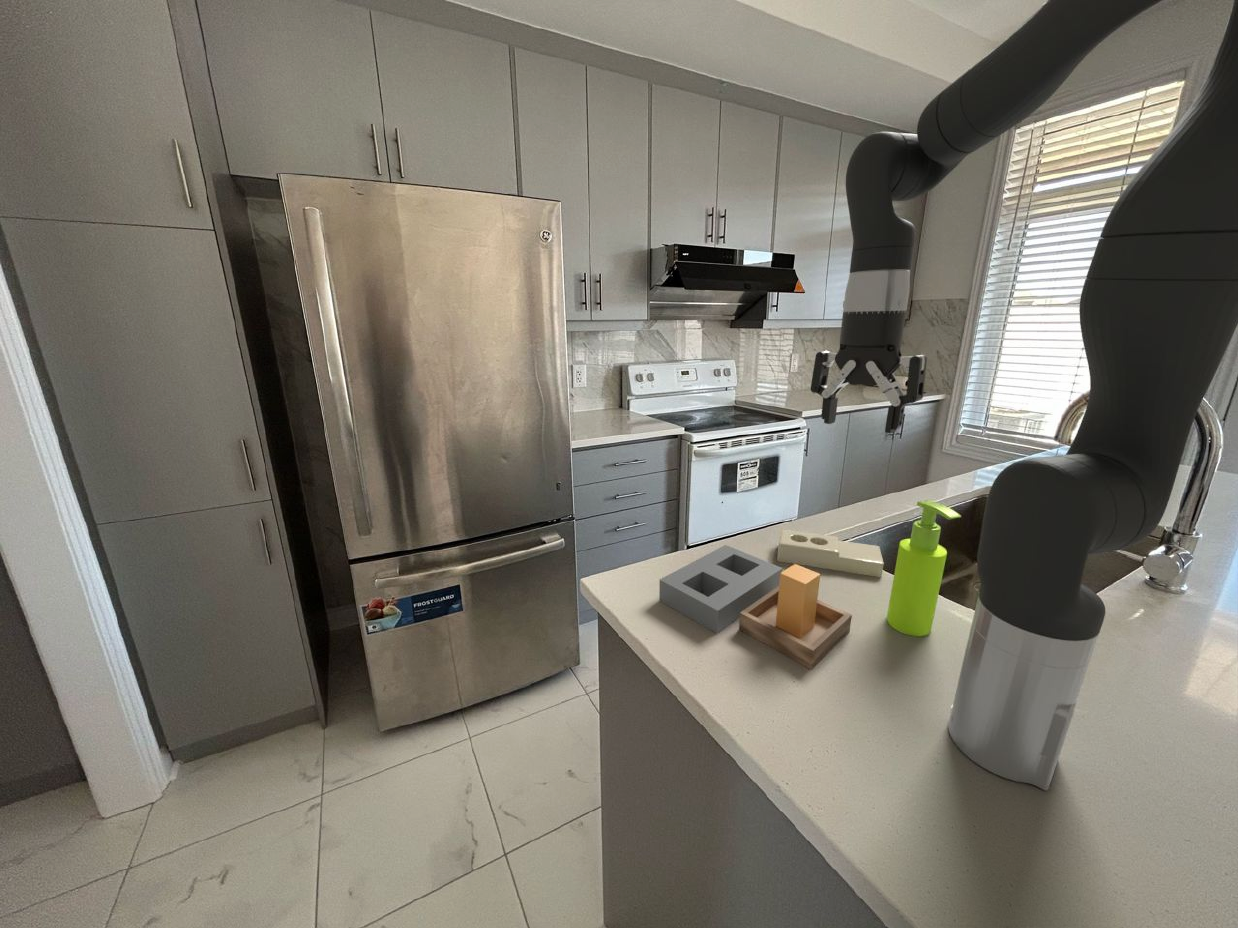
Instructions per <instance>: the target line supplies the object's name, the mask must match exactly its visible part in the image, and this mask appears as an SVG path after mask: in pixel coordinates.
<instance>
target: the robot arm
mask: <svg viewBox="0 0 1238 928" xmlns="http://www.w3.org/2000/svg"><path fill="white" fill-rule="evenodd" d="M1162 1H1163V0H1047V1H1046V2H1045V3H1043V5H1042V6H1041V7H1040V8H1039V9H1038V10H1037V11H1035V13H1033V14H1032V15H1031V16H1030V17H1029V18H1028V19H1027V20H1025V21H1024V23H1022V24H1021V26H1020V27H1018V28H1017V29H1016V30H1015V31H1014V32H1013V33H1011V34H1010V35H1009V36H1007V38H1006V39H1004V41H1002V42H1001V43H1000V44H999V45H997V46H996V47H995V48H994V49H993V50H991V51H990V52H988V54H986V55H985V56H984V57H983V58H982V59H980V60H979V61H978V62H977V63H975V64H973V66H972V67H970V68H969V69H968V70H966V71H965V72H964V73H963V74H961V76H959V77H958V78H956V79H955V80H954V81H953V82H951V83H950V84H949V85H948V86H946V87H945V88H944V89H943V90H941V92H939V93H938V94H937V95H935V96H934V98H933V99H932V100H931V101H930V102H929V103H928V104H927V105H926V106H925V107H924V109H923V111H922V112H921V114H920V116H919V119H918V121H917V128H916V133H905V132H892V131H877V132H873V133H871V134H868V135H867V136H866V137H864V138H863V139H862V140H861V141H860V142H859V143H858V144H857V146H856V147H855V148H854V150H853V153H852V154H851V155H850V159H849V161H848V164H847V168H846V173H845V191H846V192H845V193H846V201H847V206H848V213H849V222H850V228H851V232H852V239H853V242H852V249H851V258H850V266H849V267H850V268H849V275H848V280H847V284H846V288H845V292H844V300H843V303H842V308H843V310H842V318H841V326H840V336H839V349H838V351H837V352H832V351H830V350H823V351H818V352H817V353H816V354H815V359H814V364H813V365H814V366H813V370H812V378H811V383H810V391H811V392H812V393H813V394H818V395H820V396H821V397H822V406H821V413H820V414H821V419H822V420H823V422H824V423H823V424H826V425H832V424H834V423H835V422H836V418H837V409H838V400H839V397H836V396H837V395H838V394H839V393H840V392H841V390H842V389H844V388H846V386H848V384H849V385H850V386H851V385H853V386H857V385H863V386H866V387H876V386H877V387H878V388H879V390H880V391H881V393H883V394H884V395H885V396H886V398H887V400H888V401H889V403H890V405H888V408H887V415H886V422H885V429H884V432H885V434H886V433H887V434H893V433H895V432H896V431H897V430H898V429H900V428H901V427H902V425H903V420H904V414H905V409H906V406H907V405H908V404H914V403H917V402H919V401H921V400H923V398H924V390H925V380H926V371H927V363H928V362H927V360H928V358H927V356H926V355H925V354H919V355H914V356H903V355H902V351H901V347H902V341H903V335H904V328H905V323H906V317H907V315H906V314H907V310H908V302H909V298H910V297H909V296H910V286H911V283H910V282H911V281H910V279H911V277H910V276H911V268H912V267H911V266H912V261H913V256H914V248H915V241H916V227H915V225H914V224H913V223H912V222H911V221H909V220H906V219H904V218H901V217H900V216H899V215H897V214H896V213H895V209H894V204H893V201H894V202H905V201H911V200H913V199H916V198H919V197H921V196H923V195H926V194H927V193H928V192H930V191H932V190H933V189H934V188H935V187H936V186H938V185H939V184H940V183H941V182H942V181H943V180H944V179H945V178H946V177H947V176H948V175H949V174H950V173H952V172H953V171H954V169H956V167H958V165H960V164H961V163H962V162H963V160H964V159H965V158H966V157H967V156H969V155H970V154H972V153H974V152H975V151H977V150H979V149H980V148H982V147H984V146H985V145H987V144H988V143H990V142H992V141H993V140H995V139H996V138H998V137H1000V136H1001V135H1003V134H1004V133H1006V132H1008V131H1009V130H1010V129H1012V128H1014V127H1015V126H1017V125H1019V124H1020V123H1021V122H1022V121H1024V120H1026V119H1027V118H1028V117H1030V116H1031V115H1032V114H1033V113H1035V112H1036V111H1037V110H1038V109H1039V108H1040V107H1042V106H1043V104H1045V103H1046V102H1047V101H1048V100H1049V99H1051V97H1052V96H1053V95H1054V94H1055V92H1056V91H1057V90H1058V89H1059V88H1060V87H1061V85H1063V83H1064V82H1065V81H1066V80H1067V79H1068V78H1069V77H1070V75H1071V74H1072V72H1073V71H1075V70H1076V68H1077V67H1078V66H1079V64H1081V62H1082V61H1083V60H1084V59H1085V58H1086V57H1087V56H1088V55H1089V54H1090V53H1091V52H1092V51H1093V50H1094V49H1095V48H1096V47H1097V46H1098V45H1099V44H1101V43H1102V42H1103V41H1104V40H1105V39H1107V38H1108V37H1109V36H1110V35H1112V34H1113V33H1115V31H1117V30H1118V29H1119V28H1121V27H1122V26H1124V25H1125V24H1126V23H1128V22H1129V21H1131V20H1132V19H1134V18H1136V17H1137V16H1139V15H1141V14H1142V13H1143V12H1145V11H1146V10H1149V9H1150V8H1152V7H1154V6H1155V5H1157V4H1160V3H1161V2H1162ZM1099 236H1100V238H1099V239H1098V242H1097V244H1096V248H1095V250H1094V254H1093V256H1092V259H1091V262H1090V265H1089V268H1088V270H1087V274H1086V278H1085V280H1084V283H1083V286H1082V291H1081V293H1080V294H1081V295H1080V300H1079V310H1078V311H1079V325H1080V326H1079V327H1080V332H1081V338H1082V342H1083V348H1084V352H1085V356H1086V361H1087V365H1088V366H1087V367H1088V373H1089V378H1090V379H1089V385H1090V388H1089V394H1088V395H1089V396H1088V401H1087V403H1086V408H1085V411H1084V414H1083V417H1082V420H1081V423H1080V425H1079V427H1078V430H1077V432H1076V434H1075V437H1074V439H1073V441H1072V442H1071V445H1070V447H1069V448H1068V450H1067V452H1066V453H1065V454H1061V455H1053V456H1052V455H1050V456H1043V457H1042V456H1040V457H1032V458H1025V459H1022V460H1018V461H1014V462H1013V463H1010V465H1008V466H1006V467H1005V468H1004V469H1002V470H1001V472H1000V473H998V475H997V477H995V479H994V481H993V483H992V485H991V487H990V489H989V492H988V495H987V498H986V502H985V507H984V513H983V519H982V526H981V532H980V536H979V537H980V538H979V545H978V551H977V556H976V557H977V558H976V567H977V573H978V578H979V582H980V588H979V593H978V596H977V600H976V604H975V605H976V606H975V609H974V613H973V618H972V623H971V626H970V630H969V635H968V639H967V641H966V647H965V651H964V656H963V659H962V660H963V661H962V664H961V668H960V671H959V676H958V681H957V686H956V689H955V694H954V698H953V702H952V705H951V709H950V712H949V714H950V715H949V720H948V723H947V724H948V725H947V727H948V732H949V734H950V737H951V739H952V740H953V742H954V744H955V745H956V747H958V748H959V750H960V751H961V752H962V753H963V754H964V755H966V757H968V758H969V759H971V761H972V762H974V763H975V764H977V765H978V766H980V767H982V768H983V769H985V770H987V771H989V772H990V773H992V774H993V775H994V774H995V775H997V776H999V777H1002V778H1005V779H1007V780H1011V781H1014V782H1017V783H1024V784H1031V785H1034V786H1036V787H1038V788H1039V789H1042V790H1044V791H1048V790H1049V788H1050V786H1051V785H1050V784H1051V782H1052V779H1053V776H1054V773H1055V770H1056V766H1057V764H1058V761H1059V758H1060V755H1061V752H1062V748H1063V746H1064V743H1065V739H1066V737H1067V733H1068V732H1069V728H1070V725H1071V723H1072V719H1073V716H1074V712H1075V709H1076V706H1077V702H1078V698H1079V696H1080V691H1081V690H1082V686H1083V683H1084V679H1085V675H1086V674H1087V670H1088V668H1089V664H1090V661H1091V659H1092V655H1093V652H1094V649H1095V647H1096V643H1097V640H1098V637H1099V634H1100V633H1101V629H1102V627H1103V623H1104V620H1105V617H1106V607H1105V606H1106V605H1105V603H1104V601H1103V600H1102V598H1101V597H1100V596H1099V595H1098V594H1097V593H1096V592H1095V591H1094V590H1092V589H1091V588H1089V587H1087V586H1086V585H1084V584H1082V583H1083V582H1082V581H1083V576H1084V573H1085V568H1086V564H1087V559H1088V556H1089V555H1097V554H1103V553H1110V552H1117V551H1120V550H1124V549H1128V548H1130V547H1132V546H1135V545H1138V544H1139V543H1140V542H1142V541H1143V540H1146V539H1147V538H1148V537H1149V536H1151V534H1152V533H1153V532H1154V531H1155V530H1156V528H1157V527H1158V525H1159V524H1160V522H1161V520H1162V518H1163V516H1164V514H1165V512H1166V510H1167V506H1168V503H1169V501H1170V499H1171V494H1172V491H1173V488H1174V485H1175V481H1176V480H1177V479H1176V478H1177V475H1178V472H1179V468H1180V464H1181V461H1182V459H1183V454H1184V452H1185V448H1186V445H1187V442H1188V438H1189V436H1190V432H1191V431H1192V430H1191V429H1192V426H1193V423H1194V420H1195V418H1196V416H1197V413H1198V410H1199V408H1200V407H1201V404H1202V401H1203V399H1204V397H1205V396H1206V393H1207V391H1208V389H1209V387H1210V385H1211V383H1212V381H1213V379H1214V377H1215V375H1216V373H1217V371H1218V369H1219V366H1220V364H1221V362H1222V360H1223V358H1224V356H1225V353H1226V351H1227V350H1228V347H1229V345H1230V342H1231V340H1232V338H1233V335H1234V333H1235V331H1236V328H1237V327H1238V0H1233V3H1232V6H1231V10H1230V13H1229V17H1228V20H1227V22H1226V26H1225V28H1224V31H1223V34H1222V36H1221V40H1220V42H1219V45H1218V48H1217V51H1216V53H1215V57H1214V60H1213V63H1212V64H1211V66H1210V69H1209V71H1208V74H1207V75H1206V77H1205V80H1204V82H1203V83H1202V85H1201V87H1200V89H1199V91H1198V92H1197V95H1196V97H1195V98H1194V100H1193V101H1192V102H1191V104H1190V106H1189V107H1188V110H1186V112H1185V113H1184V115H1183V116H1182V117H1181V118H1180V120H1179V121H1178V123H1177V124H1176V125H1175V126H1174V128H1172V130H1171V132H1169V134H1168V135H1167V136H1166V138H1164V140H1163V141H1162V142H1161V143H1160V144H1159V146H1158V147H1157V148H1156V150H1155V151H1154V152H1153V153H1152V154H1151V156H1150V157H1148V159H1147V160H1146V162H1145V163H1144V164H1143V165H1142V167H1140V168H1139V171H1138V172H1137V173H1136V174H1135V176H1134V177H1133V178H1132V179H1131V180H1130V181H1129V182H1128V184H1127V186H1126V188H1124V190H1123V192H1122V193H1121V194H1120V196H1119V197H1118V199H1117V200H1116V202H1115V203H1114V205H1113V207H1112V208H1111V211H1110V212H1109V214H1108V215H1107V218H1106V221H1105V223H1104V226H1103V228H1102V230H1101V233H1100V235H1099ZM834 363H835V364H836V365H837V367H838V369H839V372H838V373H837V374H836V375H835V376H834V377H833V378H832V380H830V383H828V380H829V379H828V378H829V371H830V368H831V367H832V366H833V365H834ZM901 365H902V367H903V370H904V372H905V373H907V375H908V376H907V386H906V393H905V392H904V391H903V389H902V388H901V383H900V382H899V380H898V378H897V377H896V375H895V374H894V373H895V372H896V371H897V369H899V368H900V366H901ZM827 384H828V385H827Z"/></svg>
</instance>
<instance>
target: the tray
mask: <svg viewBox="0 0 1238 928" xmlns="http://www.w3.org/2000/svg"><path fill="white" fill-rule="evenodd" d="M778 594H779V586H778V587H776V588H775V589H773V590H772V591H771V592H769V593H768V594H766V595H765V596H763V597H762V598H760V599H759V600H758V601H756V602H755V603H753V604H752V605H750V606H749V607H748V608H746V609H745V610H743V611H742V612H740V618H739V623H738V630H739V631H741V632H742V633H745V634H746V635H748V636H749V637H752V638H754V639H755V640H757V641H759V642H761V643H763V644H764V645H766V646H769V647H770V648H772V649H773V650H775V651H777V652H779V653H781V654H783V655H784V656H786V657H788V658H790V659H791V660H794V661H795V662H797V663H799V664H801V665H803V666H805V667H806V668H808V669H810V670H812V669H813V668H814V667H815V666H816V665H817V664H818V663H819V662H821V660H822V659H823V658H824V657H826V655H828V654H829V653H830V651H832V649H834V648H835V647H836V646H837V645H838V644H839V642H841V641H842V640H843V639H844V638H845V637H846V636H847V635H848V634H849V633H850V630H851V625H852V624H851V623H852V617H853V615H852V614H851V613H848V612H846V611H844V610H842V609H839V608H837V607H835V606H832V605H831V604H828V603H826V602H824V601H822V600H818V599H817V607H816V615H815V624H814V627H813V628H812V629H811V630H810V631H809V632H807V633H806V634H805V635H804V636H802V637H801V638H798V637H796V636H794V635H792V634H791V633H789V632H787V631H785V630H783V629H781V628H779V627H777V626H776V616H777V605H778Z"/></svg>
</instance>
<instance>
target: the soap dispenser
mask: <svg viewBox="0 0 1238 928" xmlns="http://www.w3.org/2000/svg"><path fill="white" fill-rule="evenodd" d="M916 507H920V508H922V513H921V517H920V519H919V520H914V522H913V523H912V528H911V529H912V530H911V535H910V538H905V539H901V540H900V541H899V545H898V551H897V555H896V563H895V569H894V574H893V580H892V585H891V590H890V597H889V603H888V609H887V614H886V620H887V623H888V624H889V625H890V626H891V628H893V629H894V630H896V631H898V632H899V633H902V634H906V635H908V636H913V637H922V636H923V637H924V636H927V635H929V634H930V633H931V632H932V628H933V627H932V626H933V624H934V623H933V622H934V619H935V613H936V607H937V603H938V598H939V592H940V589H941V584H942V579H943V574H944V570H945V565H946V564H945V563H946V560H947V555H948V551H947V549H946V548H945V547H943V546H942V545H940V544H939V540H940V537H941V536H940V535H941V530H942V527H941V526H940V525H939V524H937V522H936V519H937V514H938V515H940V516H942V517H943V518H944V519H946V520H949V521H950V520H955V519H960V518H962V515H961V514H960V513H958V512H957V511H955V510H954V509H952V508H950V507H948V506H946V505H944V504H942V503H938V502H935V501H932V500H921V501H917V504H916Z"/></svg>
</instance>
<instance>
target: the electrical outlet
mask: <svg viewBox="0 0 1238 928" xmlns="http://www.w3.org/2000/svg"><path fill="white" fill-rule="evenodd" d="M777 547H778V550H777V559H776V560H777V562H783V563H789V564H793V565H794V564H797V565H799V566H806V567H812V568H813V567H814V568H820V569H826V570H833V571H839V572H843V573H844V572H845V573H852V574H859V575H863V576H864V575H865V576H871V577H878V578H882V577H883V576H882V575H883V571H884V564H885V563H884V560H883V557H882V556H883V555H882V553H881V552H882V551H881V548H880V546H879V545H873V544H867V543H860V542H851V541H844V540H839V537H838V536H834V535H827V534H826V535H825V534H820V533H813V532H812V533H811V532H804V531H799V530H797V531H796V530H789V529H781V530H780V533H779V540H778V546H777Z"/></svg>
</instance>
